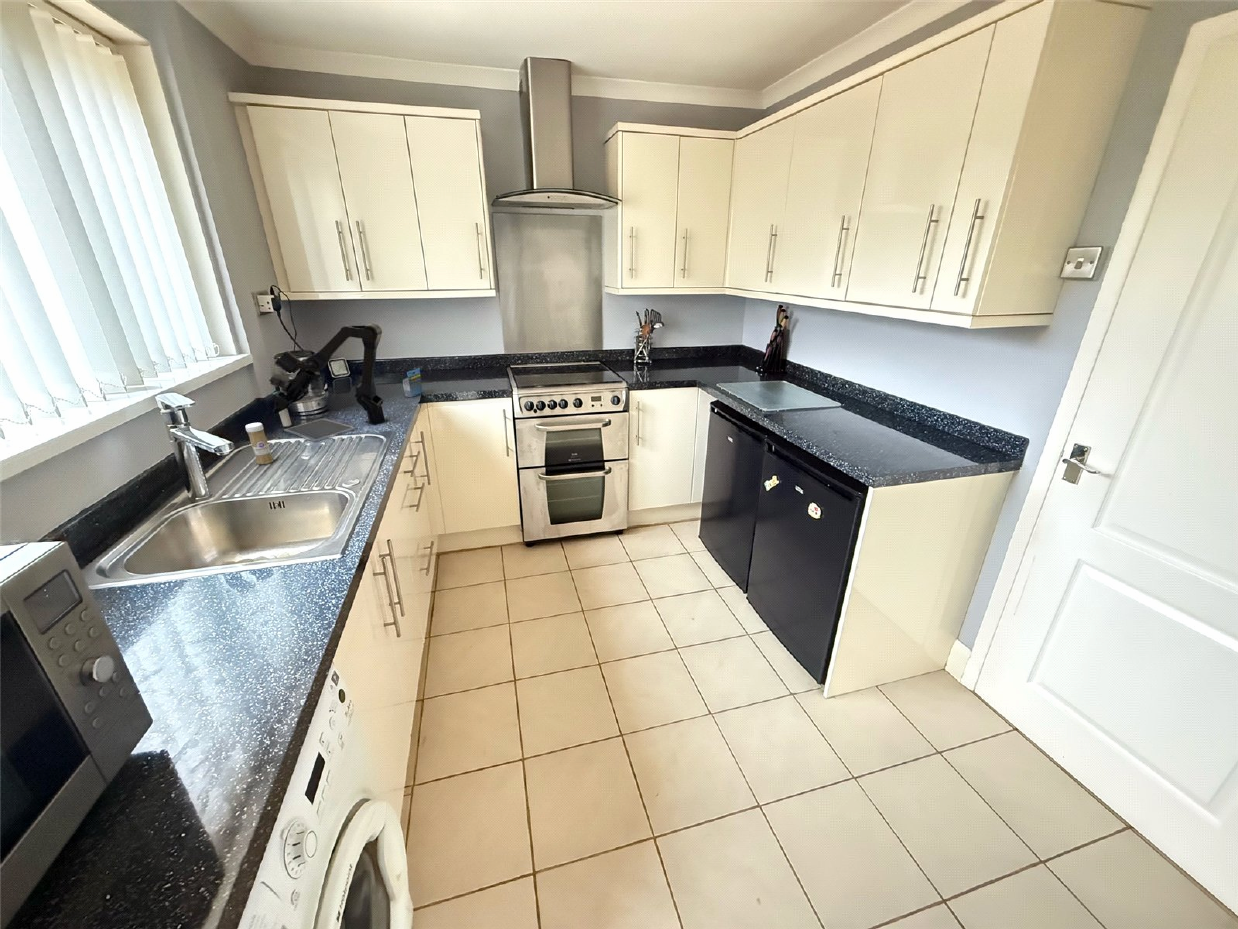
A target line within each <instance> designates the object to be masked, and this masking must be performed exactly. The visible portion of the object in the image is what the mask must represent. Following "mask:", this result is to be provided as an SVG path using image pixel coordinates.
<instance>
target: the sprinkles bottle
mask: <svg viewBox="0 0 1238 929" xmlns="http://www.w3.org/2000/svg"><path fill="white" fill-rule="evenodd" d="M245 431H246V432H247V435H248V438H249V440H250V441H249V442H250V444H251V448H252V450H253V454H254V455H255V458H256V461H257V464H258V465H267V464H271V463H273V461H274V458H273V455H272V453H271V448H270V445H269V442H268V439H267V436H266V434H265V429H264V425H263V423H261V422H252V423H248V424H246V425H245Z"/></svg>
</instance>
